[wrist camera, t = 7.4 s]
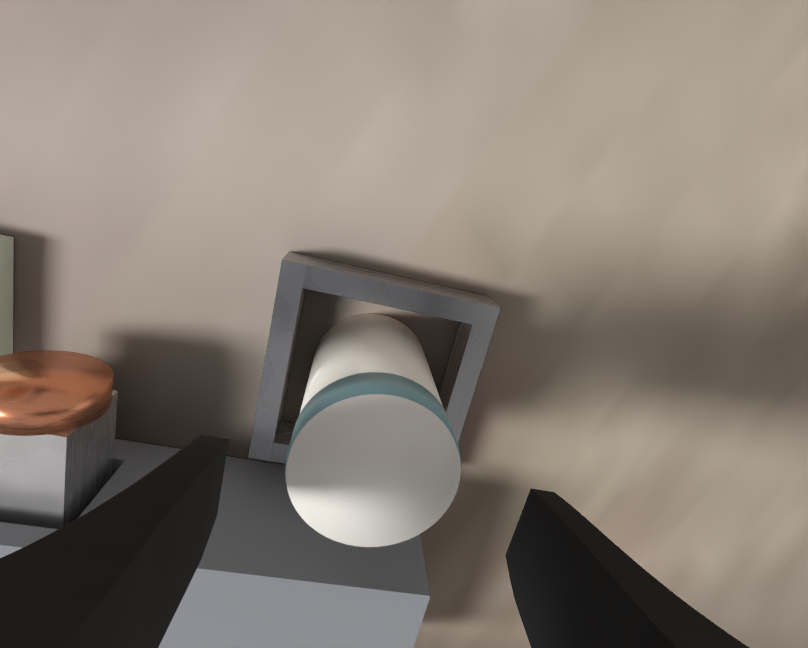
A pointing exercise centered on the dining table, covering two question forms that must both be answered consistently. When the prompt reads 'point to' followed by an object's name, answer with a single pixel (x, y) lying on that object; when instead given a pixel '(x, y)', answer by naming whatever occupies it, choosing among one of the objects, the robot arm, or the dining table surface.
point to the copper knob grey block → (54, 435)
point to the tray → (6, 294)
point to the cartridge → (371, 438)
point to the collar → (378, 289)
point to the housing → (274, 569)
